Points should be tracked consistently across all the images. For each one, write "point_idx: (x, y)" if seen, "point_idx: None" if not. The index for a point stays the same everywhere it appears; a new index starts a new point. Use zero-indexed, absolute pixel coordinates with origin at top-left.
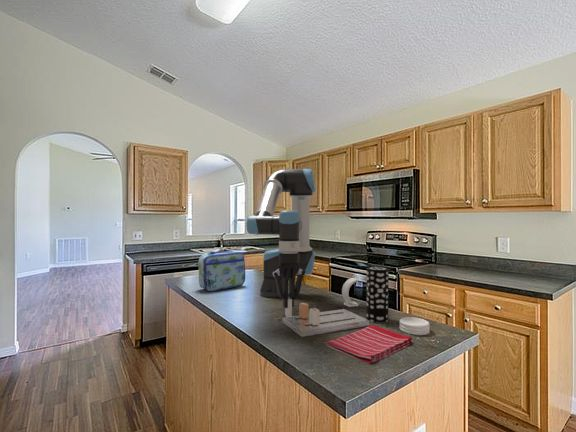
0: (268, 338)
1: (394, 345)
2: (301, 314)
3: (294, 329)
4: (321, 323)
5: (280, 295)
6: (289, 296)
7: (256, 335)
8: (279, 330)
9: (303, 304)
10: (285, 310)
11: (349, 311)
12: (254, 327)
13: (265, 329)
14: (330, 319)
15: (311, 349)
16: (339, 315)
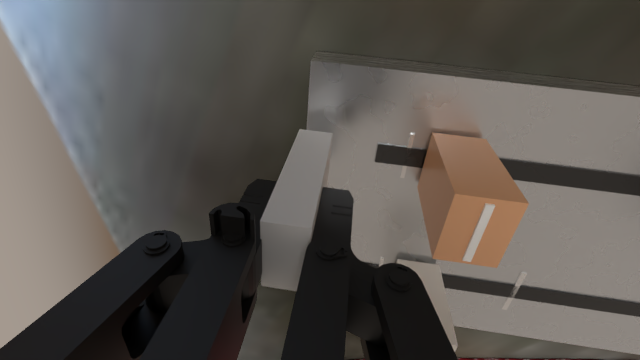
0: (153, 225)
1: None
2: (426, 180)
3: None
4: (456, 288)
5: (139, 314)
6: (307, 254)
7: (101, 170)
8: (236, 170)
9: (455, 244)
10: (290, 153)
11: None
12: (96, 47)
13: (161, 117)
14: (572, 267)
15: (275, 353)
16: None
